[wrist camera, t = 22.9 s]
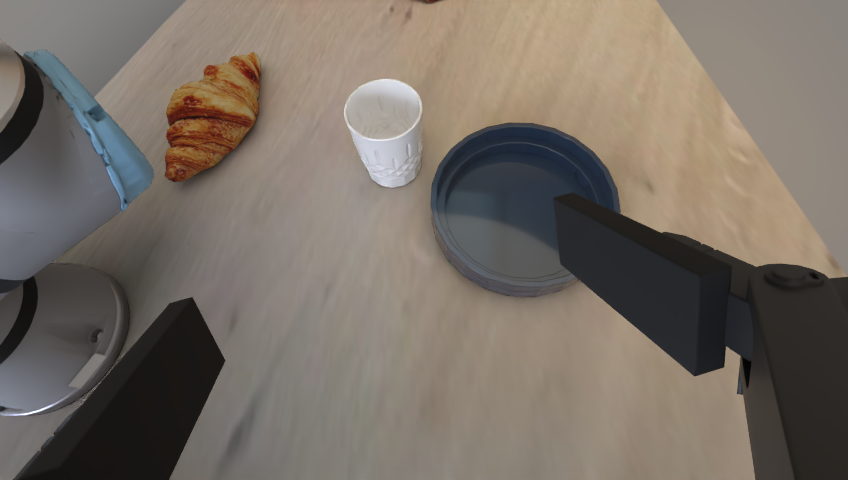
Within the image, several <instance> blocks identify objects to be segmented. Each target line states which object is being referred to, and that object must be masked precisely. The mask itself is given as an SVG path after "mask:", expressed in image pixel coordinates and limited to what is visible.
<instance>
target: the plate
mask: <svg viewBox="0 0 848 480" xmlns="http://www.w3.org/2000/svg"><path fill="white" fill-rule="evenodd" d="M572 192H573V193H576V194H578V195H580V196H582V197H584V198H586V199H589V200H591V201H593V202H595V203H597V204H599V205H602V206H604V207H606V208H608V209H610V210H612V211H615V212H617V213H619V214H620V212H621V210H620V204H619V197H618V191H617V188H616V185H615V183H614V181H613V179H612V177H611V175H610V173H609V170H608V169H607V167H606V166H605V165H604V164H603V163H602V161H601V160H600V159H599V158H598V157H597V155H596V154H595V153H594V152H593V151H592V150H590V149H589V148H588V147H587V146H585V145H584V144H583V143H581V142H580V141H579V140H577V139H576V138H575V137H572V136H570V135H568V134H566V133H564V132H561V131H559V130H557V129H555V128H551V127H547V126H543V125H538V124H534V123H504V124H499V125H494V126H489V127H486V128H484V129H482V130H479V131H477V132H475V133H473V134H470V135H468V136H467V137H465V138H464V139H463V140H462V141H460V142H459V143H458V144H457V145H455V146H454V147H453V148H452V149H451V150H450V151H449V152H448V154H447V155H446V156H445V158H444V159H443V160H442V162H441V163H440V164H439V166H438V169H437V172H436V174H435V177H434V180H433V183H432V190H431V220H432V225H433V229H434V233H435V237H436V240H437V242H438V244H439V246H440V248H441V249H442V251H443V253H444V255H445V256H446V258H447V259H448V261H449V262H450V263H451V264H452V265H453V266H454V267H455V268H456V269H457V270H458V271H459V272H460V273H461V274H462V275H463V276H464V277H466V278H468V279H469V280H471V281H473V282H474V283H476V284H478V285H479V286H481V287H483V288H485V289H487V290H491V291H494V292H497V293H501V294H504V295H507V296H525V297H536V296H541V295H545V294H550V293H554V292H558V291H560V290H562V289H564V288H566V287H568V286H570V285H572V284H574V283H575V282H577V281H579V279H578V278H576V277H575V276H574V275H573V274H572V273H570V272H569V271H568V270H567V269H566V268H564V267H563V266H562V265H561V264H560V257H559V248H558V238H557V229H556V220H555V210H554V201H553V198H554V197H557V196H561V195H564V194H568V193H572Z"/></svg>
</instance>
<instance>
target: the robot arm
mask: <svg viewBox="0 0 848 480" xmlns="http://www.w3.org/2000/svg"><path fill="white" fill-rule="evenodd" d="M153 178H154V170H153V167H152V165H151V164H150V162H149V161H148V159H147V158H146V157H145V156H144V154H143V153H142V152H141V151H140V150H139V148H138V147H137V146H136V145H135V144H134V143H133V141H132V140H131V139H130V138H129V137H128V136H127V135H126V133H125V132H124V131H123V130H122V129H121V128H120V127H119V125H118V124H117V123H116V122H115V121H114V120H113V119H112V118H111V117H110V116H109V114H108V113H106V112H105V111H104V109H103V108H102V107H101V105H100V104H99V103H98V102H97V101H96V100H95V99H94V98H93V96H92V95H91V94H90V93H89V92H88V91H87V89H86V88H85V87H84V86H83V85H82V84H81V83H80V82H79V81H78V79H77V78H76V77H75V76H74V75H73V74H72V73H71V72H70V71H69V70H68V69H67V68H66V67H65V65H64V64H63V63H62V62H61V61H60V60H59V59H58V58H57V57H56V56H55V55H53V54H52V53H51V52H49V51H47V50H37V51H34V52H26V53H24V55H23V56H21V55H19V54H18V53H17V52H16V51H14V50H13V49H12V48H11V47H10V46H9V45H7V44H6V43H5V42H3V41H1V40H0V415H6V416H27V415H39V414H44V413H48V412H52V411H55V410H57V409H60V408H62V407H64V406H66V405H68V404H70V403H72V402H74V401H75V400H77V399H78V398H80V397H81V396H83V395H84V394H85V393H87V392H88V391H89V390H90V389H91V388H92V387H94V386H95V385H96V384H97V383H98V382H99V381H100V380H101V378H102V377H103V376H104V375H105V374H106V373H107V371H108V370H109V369H110V367H111V366H112V364H113V363H114V361H115V360H116V358H117V356H118V354H119V352H120V350H121V348H122V346H123V343H124V341H125V337H126V334H127V329H128V323H129V308H128V303H127V299H126V296H125V294H124V292H123V290H122V288H121V287H120V285H119V284H118V283H117V282H116V281H115V280H114V279H113V278H112V277H110V276H109V275H107V274H105V273H103V272H101V271H98V270H96V269H93V268H91V267H88V266H85V265H80V264H72V263H51V262H52V261H54V260H55V259H57V258H58V257H59V256H61V255H62V254H63V253H65V252H66V251H68V250H69V249H70V248H72V247H73V246H74V245H76V244H77V243H79V242H80V241H81V240H83V239H84V238H86V237H87V236H88V235H90V234H91V233H92V232H94V231H95V230H97V229H98V228H99V227H101V226H102V225H103V224H105V223H106V222H108V221H109V220H110V219H112V218H113V217H114V216H116V215H117V214H119V213H120V212H123V211H124V210H125V209H127V207H128V204H130V203H131V202H132V201H133V200H134V199H135V198H137V197H138V196H139V195H140V194H141V193H142V192H144V191H145V190H146V189H147V188H148V187H149V186H150V185H151V183H152V180H153ZM553 201H554V210H555V220H556V229H557V238H558V248H559V257H560V264H561V265H562V266H563V267H564V268H566V269H567V270H568V271H569V272H570V273H572V274H573V275H574V276H575V277H576V278H578V279H579V280H580V281H581V282H582V283H584V284H585V285H586V286H587V287H588V288H590V289H591V290H592V291H593V292H594V293H596V294H597V295H598V296H599V297H600V298H602V299H603V300H604V301H605V302H606V303H608V304H609V305H610V306H611V307H612V308H613V309H615V310H616V311H617V312H618V313H619V314H621V315H622V316H623V317H624V318H625V319H627V320H628V321H629V322H630V323H631V324H633V325H634V326H635V327H636V328H637V329H639V330H640V331H641V332H642V333H643V334H645V335H646V336H647V337H648V338H649V339H651V340H652V341H653V342H654V343H655V344H657V345H658V346H659V347H660V348H661V349H663V350H664V351H665V352H666V353H667V354H668V355H670V356H671V357H672V358H673V359H674V360H676V361H677V362H678V363H679V364H680V365H682V366H683V367H684V368H685V369H686V370H688V371H689V372H690V373H691V374H692V375H694V376H698V375H701V374H704V373H707V372H710V371H714V370H717V369H720V368H723V367H724V363H725V350H726V346H727V347H728V348H730V349H731V350H733V351H734V352H736V353H737V354H739V355H740V356H741V358H740V369H739V379H738V389H737V394H741V395H743V396H744V403H745V410H746V417H747V424H748V431H749V438H750V444H751V451H752V458H753V465H754V472H755V479H756V480H848V277H842V278H830V279H829V278H828V277H827V276H826V275H824V274H822V273H820V272H818V271H816V270H814V269H810V268H806V267H802V266H798V265H789V264H767V265H763V266H758V267H755V266H753V265H751V264H748V263H746V262H744V261H741V260H739V259H737V258H735V257H732V256H730V255H728V254H725V253H723V252H721V251H719V250H714V249H713V248H712V247H709V246H707V245H705V244H702V245H701V243H700V242H698V241H696V240H693V239H691V238H689V237H687V236H683V235H678V234H673V233H669V232H663V233H660V232H658V231H656V230H654V229H651V228H649V227H647V226H645V225H643V224H641V223H638V222H636V221H634V220H632V219H630V218H628V217H625V216H623V215H621V214H619V213H617V212H615V211H612V210H610V209H608V208H606V207H604V206H602V205H599V204H597V203H595V202H593V201H591V200H589V199H586V198H584V197H582V196H580V195H578V194H576V193H573V192H572V193H568V194H564V195H561V196H557V197H554V198H553ZM224 362H225V359H224V357H223V355H222V353H221V351H220V349H219V347H218V346H217V344H216V342H215V340H214V338H213V336H212V334H211V332H210V330H209V328H208V326H207V324H206V322H205V321H204V319H203V317H202V315H201V313H200V311H199V309H198V307H197V305H196V303H195V301H194V299H193V298H192V297H191V298H187V299H184V300H180V301H177V302H173V303H170V304H169V305H168V306H167V307H166V308H165V309H164V311H163V312H162V313H161V314H160V315H159V316H158V318H157V319H156V320H155V321H154V322H153V323H152V324H151V326H150V327H149V328H148V329H147V330H146V331H145V333H144V334H143V335H142V336H141V337H140V338H139V340H138V341H137V342H136V343H135V344H134V345H133V346H132V348H131V349H130V350H129V351H128V352H127V353H126V355H125V356H124V357H123V358H122V359H121V360H120V362H119V363H118V364H117V365H116V366H115V367H114V368H113V370H112V371H111V372H110V373H109V374H108V375H107V377H106V378H105V379H104V380H103V381H102V382H101V383H100V385H99V386H98V387H97V388H96V389H95V390H94V392H93V393H92V394H91V395H90V396H89V397H88V399H87V400H86V401H85V402H84V403H83V404H82V405H81V406H80V407H79V408H78V409H77V410H76V411H74V412H73V413H72V414H71V415H69V416H68V417H67V419H66V420H65V421H64V422H63V423H62V424H61V425H60V427H59V428H58V429H57V430H56V431H55V432H54V433H53V434H54V436H52V437H50V438H49V439H48V440H47V441H46V443H45V444H44V445H43V446H42V447H41V451H38V452H37V453H36V454H35V455H34V456H33V457H32V459H31V460H30V461H29V462H28V463H27V464H26V465H25V467H24V468H23V469H22V470H21V471H20V472H19V473H18V475H17V476H16V477H15V478H14V479H13V480H169V478H170V476H171V474H172V472H173V470H174V468H175V466H176V464H177V462H178V459H179V457H180V455H181V453H182V451H183V449H184V447H185V445H186V443H187V440H188V438H189V436H190V434H191V432H192V430H193V428H194V426H195V424H196V421H197V419H198V417H199V415H200V413H201V411H202V409H203V407H204V405H205V403H206V400H207V398H208V396H209V394H210V392H211V390H212V388H213V386H214V384H215V381H216V379H217V377H218V375H219V373H220V371H221V369H222V367H223V365H224Z"/></svg>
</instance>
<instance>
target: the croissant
mask: <svg viewBox="0 0 848 480" xmlns="http://www.w3.org/2000/svg"><path fill="white" fill-rule="evenodd" d="M260 75H261V62H260V59H259V57H258V55H257V54H256V53H254V52H252V53H250V54H249V55H239V56H233V57H231V59H230V61H229V62H228V63H223V64H221V65H208V66H207V67H206V68H205V69H204V78H203V80H200V81H199V82H190V83H187V84H185V85H183V86H182V87H180V88H179V89H176V90H175V92H174V93H173V95H172V97H171V102H170V104H169V105H168V107H167V113H166V115H167V118H168V123H169V125H170V127H169V129H168V130H167V135H166V137H167V140H168V143H169V144H170V146H171V148H169V149H168V150H167V152H166V156H165V162H166V172H165V177H167V178H168V179H169V180H172V181H173V182H177V181H184V180H188V179H189V178H191V177H192V176H193V175H196V174H197V173H198V172H199V171H202V170H205V169H207V168H210V167H212V166H215V165H216V164H217V163H218V162H220V161H221V160H222V158H223V157H224V156H225V155H226V154H227V153H229V152H231V151H232V150H234V149H235V148H236V147H237V146H238V144H239V143H240V142H241V140H242V139H243V137H244V135H245V134H246V133H247V132H248V131H249V130H250V128H251V127H252V126H253V125H254V123H255V120H256V117H257V114H258V109H259V104H258V102H257V98H258V96H259V89H260V86H259V78H260Z"/></svg>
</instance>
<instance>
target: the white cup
mask: <svg viewBox="0 0 848 480" xmlns="http://www.w3.org/2000/svg"><path fill="white" fill-rule="evenodd" d="M344 117H345V121H346V123H347V126H348V128H349V131H350V133H351V136H352V138H353V141H354V143H355V146H356V148H357V150H358V152H359V155H360V157H361V159H362V162H363V163H364V164H365V166H366V169H367V171H368V173H369V175H370V177H371V179H372V180H374V181H375V182H376V183H378V184H379V185H381V186H385V187H391V188H395V187H400V186H404V185H406V184H408V183H409V182H411V181H412V180H414V179H415V178H416V176H417V174H418V173H419V171H420V169H421V152H422V136H423V132H422V101H421V98H420V96H419V94H418V93H417V92H416V90H415V89H414V88H412V87H411V86H410V85H408V84H406V83H404V82H402V81H399V80H395V79H377V80H373V81H370V82H367V83H365V84H363V85H361V86H360V87H358V88H357V89H356V90H354V91H353V92H352V94H351V95H350V96H349V98H348V99H347V101H346V104H345V107H344Z"/></svg>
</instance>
